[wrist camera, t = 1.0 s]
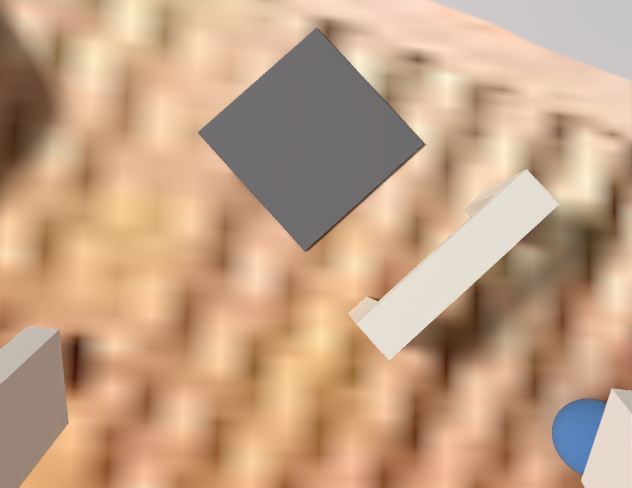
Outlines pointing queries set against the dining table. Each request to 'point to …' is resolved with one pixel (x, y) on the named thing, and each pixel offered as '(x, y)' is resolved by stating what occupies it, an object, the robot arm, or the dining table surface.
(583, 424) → the ball
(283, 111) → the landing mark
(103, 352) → the dining table surface
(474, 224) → the bridge
